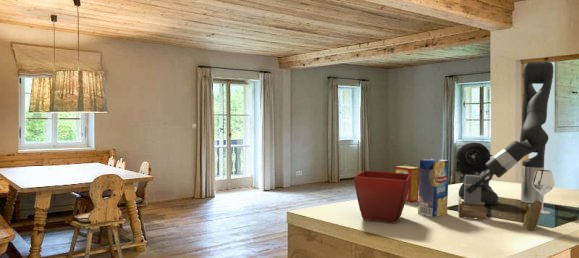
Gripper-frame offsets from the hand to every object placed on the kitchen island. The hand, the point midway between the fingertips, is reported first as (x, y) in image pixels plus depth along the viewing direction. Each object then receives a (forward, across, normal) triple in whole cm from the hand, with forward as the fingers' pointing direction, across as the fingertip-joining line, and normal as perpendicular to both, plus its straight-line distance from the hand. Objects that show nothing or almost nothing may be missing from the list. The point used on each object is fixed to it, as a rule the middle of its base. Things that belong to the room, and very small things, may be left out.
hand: (467, 190), depth 181 cm
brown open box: (+6, 0, +8) cm, 10 cm away
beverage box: (+16, +4, -2) cm, 17 cm away
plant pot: (+29, +22, -15) cm, 39 cm away
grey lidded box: (+2, 0, +5) cm, 5 cm away
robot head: (+4, -40, +10) cm, 42 cm away
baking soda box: (+26, -23, -12) cm, 36 cm away
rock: (-7, +12, +22) cm, 26 cm away
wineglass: (-15, -21, +29) cm, 39 cm away
